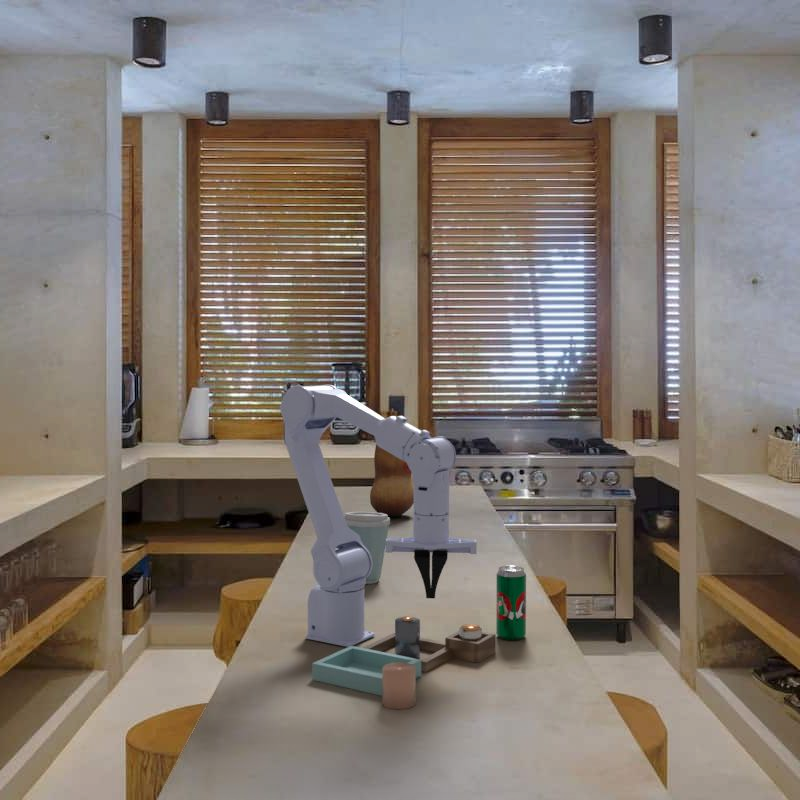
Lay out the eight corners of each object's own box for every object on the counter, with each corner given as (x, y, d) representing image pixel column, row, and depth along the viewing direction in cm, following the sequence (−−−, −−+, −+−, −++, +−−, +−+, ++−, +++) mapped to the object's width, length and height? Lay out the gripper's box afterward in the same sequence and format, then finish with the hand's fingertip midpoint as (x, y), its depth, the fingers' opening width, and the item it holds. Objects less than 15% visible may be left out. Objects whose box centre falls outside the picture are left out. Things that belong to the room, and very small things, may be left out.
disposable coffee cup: (348, 574, 206) (348, 507, 205) (395, 576, 204) (395, 508, 203) (335, 585, 196) (335, 515, 195) (385, 588, 194) (385, 516, 193)
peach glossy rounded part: (376, 704, 128) (375, 669, 128) (394, 694, 132) (393, 660, 132) (404, 711, 126) (404, 675, 126) (421, 700, 130) (421, 665, 130)
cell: (390, 658, 148) (390, 618, 148) (403, 651, 152) (403, 613, 151) (411, 662, 146) (411, 622, 146) (424, 655, 150) (424, 616, 149)
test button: (455, 644, 149) (455, 627, 149) (466, 639, 153) (466, 622, 152) (475, 648, 148) (475, 631, 147) (485, 642, 151) (485, 625, 150)
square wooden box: (445, 656, 149) (445, 637, 149) (463, 646, 154) (463, 628, 154) (478, 662, 146) (478, 644, 146) (495, 652, 151) (495, 634, 151)
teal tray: (312, 679, 138) (312, 663, 138) (351, 661, 147) (351, 645, 147) (384, 696, 132) (384, 679, 131) (421, 676, 140) (421, 659, 140)
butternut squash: (398, 522, 271) (398, 437, 270) (361, 517, 278) (361, 435, 277) (423, 515, 283) (423, 433, 282) (387, 511, 290) (387, 432, 289)
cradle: (359, 658, 148) (359, 648, 148) (394, 641, 157) (394, 632, 157) (426, 671, 142) (426, 662, 142) (458, 653, 150) (458, 644, 150)
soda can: (523, 632, 162) (523, 564, 161) (528, 641, 157) (528, 571, 156) (494, 632, 162) (494, 564, 161) (498, 641, 157) (498, 571, 156)
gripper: (384, 516, 145) (384, 602, 145) (477, 518, 144) (476, 604, 145) (387, 509, 152) (387, 591, 152) (476, 510, 151) (475, 592, 152)
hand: (430, 596), depth 149 cm, fingers closed
